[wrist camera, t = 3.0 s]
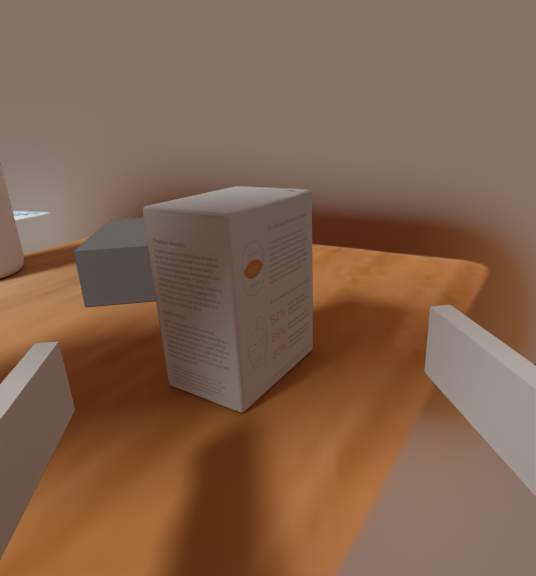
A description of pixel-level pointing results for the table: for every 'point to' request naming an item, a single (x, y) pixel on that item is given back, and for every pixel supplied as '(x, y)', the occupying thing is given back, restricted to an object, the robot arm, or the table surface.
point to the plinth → (116, 264)
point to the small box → (232, 289)
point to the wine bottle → (8, 235)
